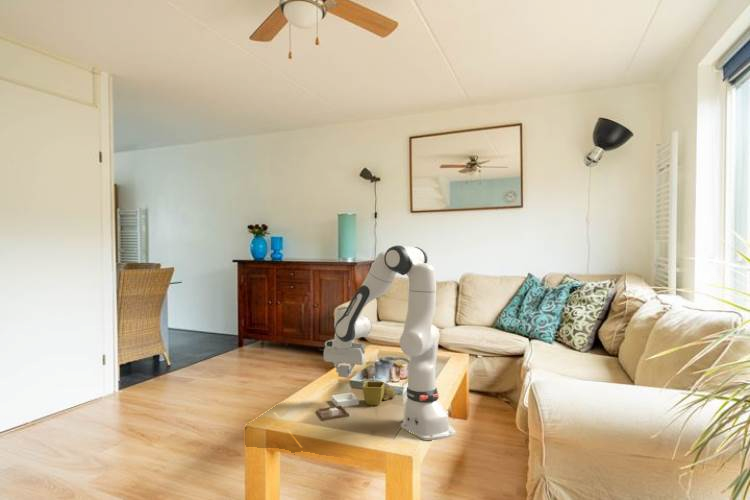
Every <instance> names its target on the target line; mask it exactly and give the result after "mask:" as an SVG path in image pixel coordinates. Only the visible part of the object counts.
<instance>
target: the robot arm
mask: <svg viewBox="0 0 750 500" xmlns="http://www.w3.org/2000/svg"><path fill="white" fill-rule="evenodd" d="M397 273H398V274H399V275H401V276H405V275H406V276H407V277H408V282H409V283H408V297H407V299H408V301H407V303H408V304H407V312H406V318H405V322H404V326H403V331H402V334H401V335H400V337H399V347H400V348H399V349H400V350H401V351H402V353H404V355H406V356H408V357H410V358H409V362H408V365H407V387H406V397H407V399H406V401H405V404H404V405H403V406H404V407H403V420H402V421H403V422H401V423H400V428H401V429H403V430H405V429H406V430H405V431H407V430H408V431H407V432H409V431H410V432H412V433H414V434H415V435H414V434H413V435H414V436H416V435H417V436H416V437H418V438H419V439H422V440H424V441H436V440H442V439H448V438H450V437H452V436H455V435H456V434H457V432H456V430H455V429H454V427H453V426H452V425H451V424H450V421H449V419H450V418H449V415H450V414H449V411H448V410H445V409H444V407H443V404H441V402H440V399H439V397H440V394H439V392H438V388H437V385H436V365H437V359H438V352H439V351H438V350H439V341H440V338H441V333H440V329H438V327H437V326H436V325H434V324H433V321H434V318H435V317H434V316H435V314H436V310H437V288H438V287H437V275H436V269H435V267H433V265H431V264H429V263H428V255H427V253H426V251H424V249H422V248H420V247H418V246H416V247H415V246H411V245H397V244H396V245H394V246H391V247H389V248H388V249H387V250H385V251H381V252H380V253H378V255H377V256H376V258H375V259H374V261H373V262H372V264H371V266H370V268H369V270H368V273H367V275H366V277H365V279H364V280H363V282H362V284H361V285H360V286H359V287H358V289H357V290H356V291H355V293H354V295H353V297H352V298H351V300H350V302H349V304H348V306H347V307H341V308H337V310H336V311H335V313H334V314H335V315H334V321H333V322H334V337H333V338H332V339H329V340H326V341H325V342H324V346H325V347H324V349H323V360H324V362H327V363H333V365H334V367H335V372H336V373H338V367H339V366H340V365H339V364H346V365H350V366H351V368H350V369H349V370H348V374H351V375H352V374H353V370H354V368H355V366H356V365H357V366H363V365H364V364H365V363H366V353H365V351H366V349H365V345H363V344H362V343H355V340H357V339H360V338H363V337H366V336H368V335H370V333H371V331H372V323H371V320H370V318H369V317H368V316H366V315H363V314H362V312H363V310H364V308H365V307H366V306H367V304H369V303H371V302H372V301H373V300H375V299H377V298H380V297H382V296H383V295H385V294H386V293H387V292H388V291H389V290H390V288H391V286H392V283H393V281H394V279H395V276H396V274H397ZM410 432H409V433H410ZM412 433H411V434H412Z"/></svg>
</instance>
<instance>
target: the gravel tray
mask: <svg viewBox="0 0 750 500" xmlns="http://www.w3.org/2000/svg"><path fill="white" fill-rule="evenodd" d="M331 408H337V409H338V410H339V415H337V416H331V417H330V416H329V409H331ZM316 412H317V414H318V415H319V416H320V418H321V420H322V421H324V422H325V421H330V420H336V419H343V418H348V417H350V413H349V412H348V411H347V410H346V409H345V407H342V406H336V405H335V406H329V407H321V408H317V409H316Z"/></svg>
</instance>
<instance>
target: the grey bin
mask: <svg viewBox="0 0 750 500" xmlns="http://www.w3.org/2000/svg"><path fill="white" fill-rule="evenodd" d="M331 403H333V405H335V406H342V407H343V408H346V407H353V406H359V405H360V398H359V397H357V396H356V395H355V394H354V393H353V392H348V393H339V394H333V395H332V394H331Z"/></svg>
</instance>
